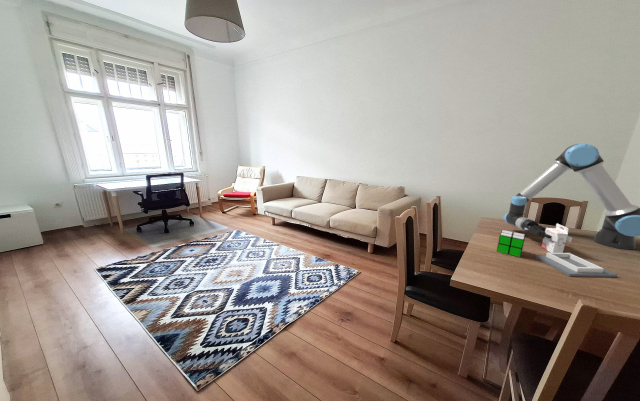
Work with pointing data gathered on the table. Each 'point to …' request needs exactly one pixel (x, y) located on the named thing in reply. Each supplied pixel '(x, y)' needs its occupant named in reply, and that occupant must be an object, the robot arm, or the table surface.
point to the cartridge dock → (574, 265)
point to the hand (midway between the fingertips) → (564, 239)
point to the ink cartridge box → (552, 245)
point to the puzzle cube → (511, 243)
